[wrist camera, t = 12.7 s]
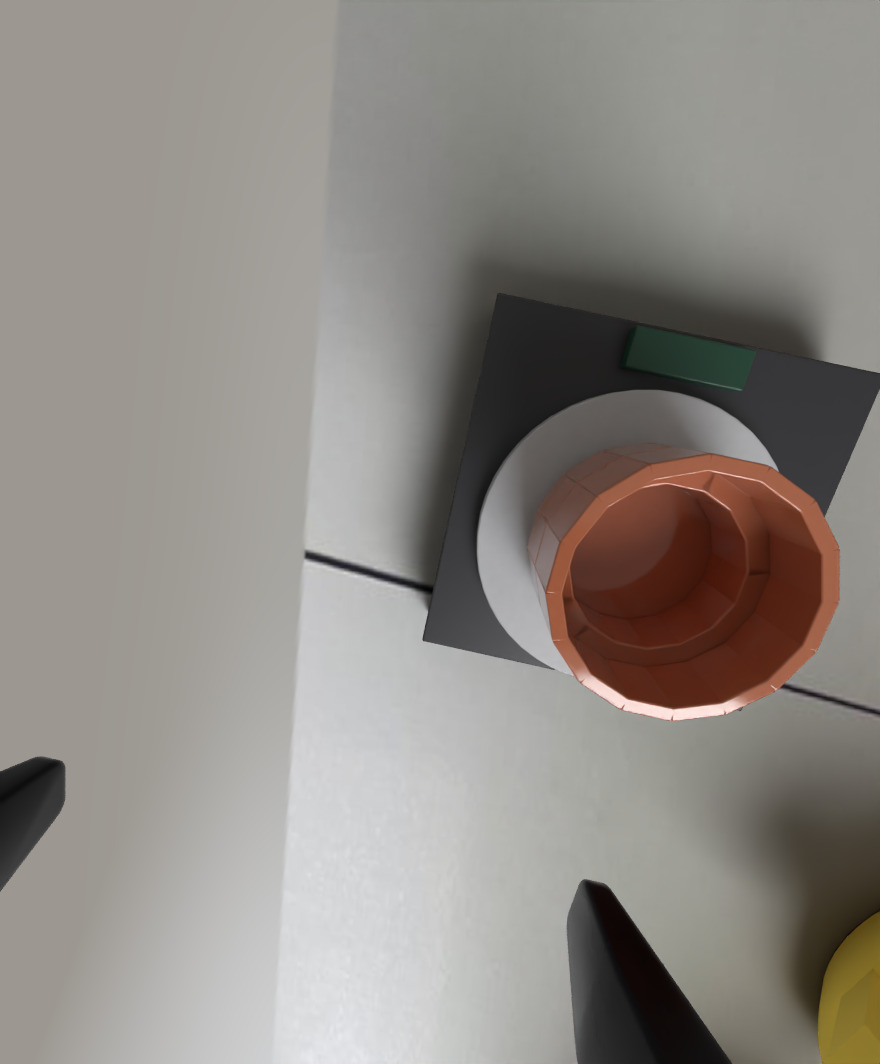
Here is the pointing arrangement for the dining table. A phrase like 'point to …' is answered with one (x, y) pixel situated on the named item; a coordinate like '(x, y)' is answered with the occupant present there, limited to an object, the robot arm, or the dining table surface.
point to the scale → (613, 443)
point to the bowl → (682, 578)
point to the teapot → (852, 999)
